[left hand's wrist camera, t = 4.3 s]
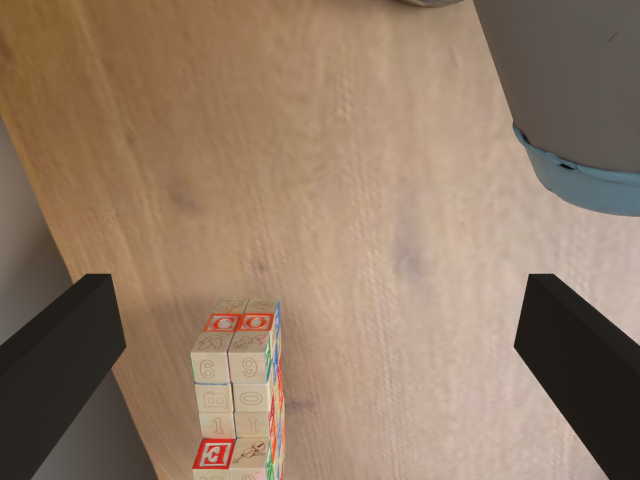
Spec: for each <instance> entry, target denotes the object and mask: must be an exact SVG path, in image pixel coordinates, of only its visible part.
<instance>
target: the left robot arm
mask: <svg viewBox="0 0 640 480" xmlns="http://www.w3.org/2000/svg"><path fill="white" fill-rule="evenodd" d="M399 1H402V2H404V3H407V4H411V5H415V6H421V7H440V6H446V5H450V4H454V3H458V2H460V1H463V0H399ZM473 2H474V5H475V8H476V11H477V14H478V17H479V20H480V23H481V26H482V28H483V31H484V34H485V37H486V40H487V43H488V46H489V49H490V52H491V55H492V58H493V61H494V64H495V67H496V70H497V73H498V76H499V79H500V82H501V85H502V88H503V91H504V93H505V96H506V99H507V102H508V105H509V108H510V111H511V114H512V117H513V130H514V132H515V135H516V137H517V138H518V140H519V141H520V143H521V144H522V145H523V146H524V147H525V149H526V151H527V154H528V156H529V159H530V161H531V163H532V166H533V168H534V171H535V173H536V175H537V177H538V179H539V180H540V182H541V183H542V184H543V185H544V187H545V188H546V189H548V190H549V191H551V192H553V193H555V194H556V195H557V196H558V197H560V198H562V199H563V200H564V201H566V202H568V203H570V204H573V205H575V206H578V207H581V208H584V209H588V210H591V211H596V212H600V213H606V214H613V215H621V216H633V217H640V0H473ZM125 348H126V343H125V338H124V333H123V328H122V324H121V319H120V314H119V310H118V305H117V300H116V295H115V291H114V286H113V281H112V277H111V274H86V275H85V276H83V277H82V278H81V279H80V280H79V281H77V282H76V283H75V284H74V285H73V286H71V287H70V288H69V289H68V290H67V291H65V292H64V293H63V294H62V295H61V296H59V297H58V298H57V299H56V300H55V301H53V302H52V303H51V304H50V305H49V306H47V307H46V308H45V309H44V310H43V311H41V312H40V313H39V314H38V315H37V316H35V317H34V318H33V319H32V320H31V321H29V322H28V323H27V324H26V325H25V326H23V327H22V328H21V329H20V330H19V331H17V332H16V333H15V334H14V335H13V336H11V337H10V338H9V339H8V340H7V341H6V342H4V343H3V344H2V345H1V346H0V480H31V478H32V477H33V476H34V474H35V473H36V471H37V470H38V469H39V467H40V466H41V464H42V463H43V462H44V460H45V459H46V458H47V456H48V455H49V453H50V452H51V451H52V449H53V448H54V446H55V445H56V444H57V442H58V441H59V439H60V438H61V437H62V435H63V434H64V433H65V431H66V430H67V428H68V427H69V426H70V424H71V423H72V422H73V420H74V419H75V417H76V416H77V415H78V413H79V412H80V410H81V409H82V408H83V406H84V405H85V404H86V402H87V401H88V399H89V398H90V397H91V395H92V394H93V392H94V391H95V390H96V388H97V387H98V386H99V384H100V383H101V381H102V380H103V379H104V377H105V376H106V374H107V373H108V372H109V370H110V369H111V368H112V366H113V365H114V363H115V362H116V361H117V359H118V358H119V356H120V355H121V354H122V352H123V351H124V350H125ZM514 348H515V350H516V351H517V352H518V354H519V355H520V356H521V358H522V359H523V361H524V362H525V363H526V365H527V366H528V368H529V369H530V370H531V372H532V373H533V374H534V376H535V377H536V379H537V380H538V381H539V383H540V384H541V386H542V387H543V388H544V390H545V391H546V392H547V394H548V395H549V397H550V398H551V399H552V401H553V402H554V404H555V405H556V406H557V408H558V409H559V410H560V412H561V413H562V415H563V416H564V417H565V419H566V420H567V422H568V423H569V424H570V426H571V427H572V428H573V430H574V431H575V433H576V434H577V435H578V437H579V438H580V440H581V441H582V442H583V444H584V445H585V446H586V448H587V449H588V451H589V452H590V453H591V455H592V456H593V458H594V459H595V460H596V462H597V463H598V464H599V466H600V467H601V469H602V470H603V471H604V473H605V474H606V476H607V477H608V478H609V480H640V346H639V345H638V344H637V343H636V342H635V341H633V340H632V339H631V338H630V337H629V336H627V335H626V334H625V333H624V332H623V331H621V330H620V329H619V328H618V327H617V326H615V325H614V324H613V323H612V322H611V321H609V320H608V319H607V318H606V317H605V316H603V315H602V314H601V313H600V312H599V311H597V310H596V309H595V308H594V307H593V306H591V305H590V304H589V303H588V302H587V301H585V300H584V299H583V298H582V297H581V296H579V295H578V294H577V293H576V292H575V291H573V290H572V289H571V288H570V287H569V286H567V285H566V284H565V283H564V282H563V281H561V280H560V279H559V278H558V277H557V276H555V275H554V274H529V277H528V281H527V286H526V291H525V295H524V300H523V305H522V310H521V314H520V319H519V324H518V328H517V333H516V338H515V343H514Z"/></svg>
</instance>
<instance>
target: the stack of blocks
mask: <svg viewBox="0 0 640 480" xmlns="http://www.w3.org/2000/svg"><path fill="white" fill-rule="evenodd" d="M190 357H191V363H192V369H193V376H194V380H195V384H194V385H195V393H196V399H197V405H198V411H199V421H200V426H201V432H202V436H203V437H204V438H203V439H202V442H201V444H200V447H199V450H198V453H197V456H196V459H195V462H194V465H193V468H192V471H193V477H194V480H282V477H283V475H284V463H285V416H284V395H283V388H282V373H281V326H280V309H279V299H272V298H251V299H249V298H221V299H220V300H219V301H218V303H217V305H216V307H215V309H214V312H213V314H211V316H210V318H209V320H208V322H207V324H206V326H205V328H204V330H203V332H201V333H200V335H199V337H198V339H197V340H196V342H195V344H194V346H193V348H192V350H191V352H190Z"/></svg>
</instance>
